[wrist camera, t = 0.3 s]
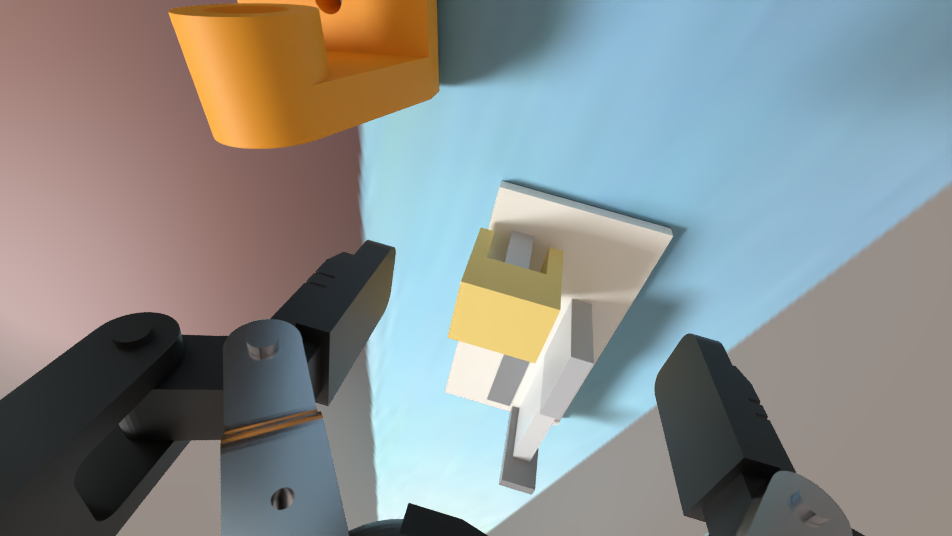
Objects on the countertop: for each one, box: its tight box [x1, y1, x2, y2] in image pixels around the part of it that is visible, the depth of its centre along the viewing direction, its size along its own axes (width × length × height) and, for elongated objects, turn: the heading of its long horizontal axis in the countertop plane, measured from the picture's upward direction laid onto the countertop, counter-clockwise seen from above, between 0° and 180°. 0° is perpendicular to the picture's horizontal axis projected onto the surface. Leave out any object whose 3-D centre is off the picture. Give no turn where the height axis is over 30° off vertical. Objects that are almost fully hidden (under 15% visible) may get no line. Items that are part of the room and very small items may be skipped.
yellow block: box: [448, 228, 563, 363], centre depth 28 cm, size 5×6×6 cm
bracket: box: [168, 0, 439, 149], centre depth 19 cm, size 11×7×12 cm, turn 88°
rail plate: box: [445, 181, 673, 495], centre depth 32 cm, size 24×12×8 cm, turn 168°
